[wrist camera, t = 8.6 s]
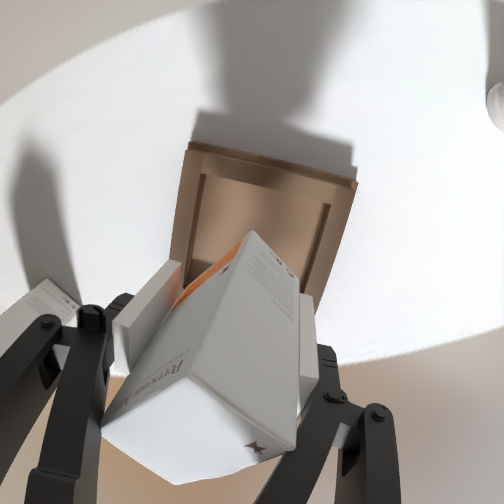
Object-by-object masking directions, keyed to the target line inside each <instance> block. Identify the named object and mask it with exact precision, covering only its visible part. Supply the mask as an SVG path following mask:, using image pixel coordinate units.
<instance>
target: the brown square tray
mask: <svg viewBox="0 0 504 504" xmlns="http://www.w3.org/2000/svg"><path fill="white" fill-rule="evenodd" d="M357 186H358V182H357V181H355V180H351V179H348V178H345V177H341V176H338V175H334V174H331V173H327V172H324V171H320V170H316V169H313V168H309V167H305V166H301V165H297V164H293V163H290V162H286V161H281V160H277V159H273V158H269V157H265V156H260V155H256V154H252V153H247V152H242V151H238V150H233V149H228V148H223V147H218V146H213V145H208V144H203V143H197V142H189V144H188V149H187V150H186V151H185V156H184V162H183V167H182V173H181V179H180V185H179V191H178V197H177V204H176V211H175V218H174V225H173V232H172V239H171V247H170V255H169V259H170V260H174V261H177V262H181V263H182V264H181V272H180V279H179V287H178V295H177V301H178V299H179V298H180V296H181V295H182V293H183V292H184V291H185V289H186V287H187V286H188V285H190V284H191V283H192V282H193V281H194V280H196V279H197V278H198V277H199V276H200V275H201V274H203V273H204V272H205V271H206V270H207V269H208V268H210V267H211V266H212V265H213V264H215V263H216V262H217V261H218V260H219V259H220V258H221V257H222V256H223V255H225V254H226V253H227V252H228V251H229V250H230V249H231V248H232V247H233V246H235V245H236V244H237V243H238V242H239V241H240V240H241V239H242V238H243V237H244V236H245V235H246V234H248V233H249V232H250V231H251V230H254V231H255V232H256V233H257V234H258V235H259V236H260V237H261V239H262V240H263V241H264V242H265V243H266V244H267V245H268V246H269V247H270V248H271V249H272V251H273V252H274V253H275V254H276V255H277V256H278V257H279V258H280V259H281V260H282V261H283V262H284V263H285V264H286V265H287V267H288V268H289V269H290V270H291V271H292V272H293V273H294V274H295V275H296V276H297V277H298V278H299V293H302V294H306V295H310V296H313V304H314V316H315V314H316V311H317V308H318V306H319V303H320V300H321V297H322V295H323V292H324V289H325V286H326V283H327V281H328V278H329V275H330V272H331V269H332V266H333V263H334V260H335V257H336V254H337V251H338V248H339V245H340V242H341V239H342V236H343V233H344V230H345V226H346V223H347V220H348V217H349V213H350V210H351V207H352V203H353V200H354V197H355V193H356V190H357Z"/></svg>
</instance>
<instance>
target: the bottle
mask: <svg viewBox="0 0 504 504" xmlns="http://www.w3.org/2000/svg"><path fill="white" fill-rule="evenodd" d="M487 110H488V114H489V117H490V118H491V120H492V122H493V124H494V125H495V126H496V127H497V128H498V129H499V130H501V131H502V132H504V82H500V83H497V84H495V85H494V86H493V87H492V88H491V89H490V90H489V92H488V95H487Z"/></svg>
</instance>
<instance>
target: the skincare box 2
mask: <svg viewBox="0 0 504 504" xmlns="http://www.w3.org/2000/svg"><path fill="white" fill-rule="evenodd" d="M298 374H299V278H298V277H297V276H296V275H295V274H294V273H293V272H292V271H291V270H290V269H289V268H288V267H287V265H286V264H285V263H284V262H283V261H282V260H281V259H280V258H279V257H278V256H277V255H276V254H275V253H274V252H273V251H272V249H271V248H270V247H269V246H268V245H267V244H266V243H265V242H264V241H263V240H262V239H261V237H260V236H259V235H258V234H257V233H256V232H255V231H254V230H251V231H250V232H249V233H248V234H246V235H245V236H244V237H243V238H242V239H241V240H240V241H239V242H238V243H237V244H236V245H235V246H233V247H232V248H231V249H230V250H229V251H228V252H227V253H226V254H225V255H223V256H222V257H221V258H220V259H219V260H218V261H217V262H216V263H215V264H213V265H212V266H211V267H210V268H208V269H207V270H206V271H205V272H204V273H203V274H201V275H200V276H199V277H198V278H197V279H196V280H194V281H193V282H192V283H191V284H190V285H188V286H187V287H186V289H185V291H184V292H183V293H182V295H181V296H180V298H179V299H178V301H177V302H176V303H175V305H174V306H173V308H172V309H171V311H170V312H169V314H168V315H167V317H166V318H165V320H164V321H163V323H162V324H161V326H160V327H159V329H158V330H157V332H156V333H155V335H154V336H153V338H152V339H151V341H150V342H149V344H148V345H147V347H146V348H145V350H144V352H143V353H142V355H141V356H140V358H139V359H138V361H137V362H136V364H135V366H134V367H133V369H132V370H131V372H130V373H129V375H128V376H127V378H126V380H125V381H124V383H123V385H122V386H121V388H120V389H119V391H118V392H117V394H116V395H115V397H114V399H113V400H112V402H111V404H110V405H109V407H108V408H107V410H106V412H105V413H104V415H103V418H102V421H101V425H100V429H101V436H103V437H104V438H105V439H106V440H108V441H109V442H110V443H112V444H113V445H114V446H116V447H117V448H119V449H120V450H121V451H123V452H124V453H126V454H127V455H129V456H130V457H131V458H133V459H134V460H136V461H137V462H139V463H140V464H142V465H143V466H145V467H146V468H148V469H150V470H151V471H153V472H154V473H156V474H157V475H159V476H161V477H162V478H164V479H165V480H167V481H169V482H170V483H172V484H174V485H180V484H184V483H188V482H193V481H197V480H201V479H209V478H218V477H222V476H225V475H229V474H233V473H235V472H237V471H239V470H241V469H243V468H245V467H249V466H251V465H255V464H258V463H260V462H263V461H266V460H269V459H272V458H274V457H277V456H280V455H283V454H285V453H286V451H293V450H294V449H295V447H296V433H297V406H298Z"/></svg>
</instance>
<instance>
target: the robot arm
mask: <svg viewBox="0 0 504 504" xmlns="http://www.w3.org/2000/svg"><path fill="white" fill-rule="evenodd" d="M181 264H182V263H181V262H177V261H174V260H170V259H169V260H168V261H167V262H166V263H165V264H164V265H163V266H162V267H161V268H160V269H159V271H158V272H157V273H156V274H155V275H154V276H153V277H152V278H151V279H150V280H149V281H148V282H147V283H146V285H145V286H144V287H143V288H142V289H141V290H140V291H139V292H138V293H137V294H136V295H135V296H134V295H131V294H128V293H124V294H122V295H119V296H117V297H116V298H115V299H114V300H113V301H112V303H110V304H109V305H108V307H106V308H105V309H103V308H102V307H100V306H98V305H92V304H88V305H83V306H81V307H79V308H78V309H77V310H76V319H77V327H70V326H63V325H62V323H61V319H60V318H59V317H58V316H56V315H53V314H43V315H40V316H39V317H37V318H36V319H35V320H34V321H33V322H32V323H31V324H30V325H29V326H28V327H27V328H26V330H25V331H24V332H23V333H22V334H21V335H20V336H19V337H18V338H17V339H16V340H15V341H14V343H13V344H12V345H11V346H10V347H9V348H8V349H7V350H6V352H5V353H4V354H3V355H2V356H1V357H0V485H1V483H2V481H3V479H4V477H5V475H6V473H7V472H8V470H9V468H10V466H11V464H12V462H13V460H14V458H15V457H16V455H17V453H18V451H19V449H20V448H21V446H22V444H23V442H24V440H25V439H26V437H27V435H28V434H29V432H30V430H31V429H32V427H33V425H34V423H35V422H36V420H37V418H38V417H39V415H40V413H41V412H42V410H43V408H44V407H45V405H46V404H47V402H48V400H49V399H50V397H51V396H52V394H53V392H54V391H55V389H56V388H57V390H56V393H55V397H54V400H53V404H52V408H51V411H50V415H49V419H48V423H47V427H46V431H45V435H44V439H43V444H42V449H41V453H40V459H39V463H38V466H37V468H34V469H32V470H31V471H30V474H29V477H28V483H27V488H26V494H25V501H24V504H96V498H97V479H98V464H99V454H100V443H101V429H100V425H101V421H102V418H103V415H104V410H105V403H106V396H107V390H108V383H109V378H110V369H109V368H110V366H111V365H112V363H113V362H114V368H115V370H116V371H118V372H121V373H124V374H126V375H129V373H130V372H131V370H132V369H133V367H134V366H135V364H136V362H137V361H138V359H139V358H140V356H141V355H142V353H143V352H144V350H145V348H146V347H147V345H148V344H149V342H150V341H151V339H152V338H153V336H154V335H155V333H156V332H157V330H158V329H159V327H160V326H161V324H162V323H163V321H164V320H165V318H166V317H167V315H168V314H169V312H170V311H171V309H172V308H173V306H174V305H175V303H176V302H177V295H178V287H179V279H180V272H181ZM337 368H338V366H337V359H336V353H335V352H334V350H333V349H332V347H331V346H326V345H321V344H317V341H316V328H315V316H314V304H313V296H310V295H306V294H302V293H299V374H298V406H297V420H298V419H299V417H300V415H301V423H300V424H299V426H298V428H297V433H296V447H295V449H294V450H293V451H286V453H285V454H283V455H282V457H281V459H280V460H279V462H278V464H277V466H276V467H275V469H274V471H273V472H272V474H271V476H270V477H269V479H268V481H267V482H266V484H265V485H264V487H263V489H262V490H261V492H260V494H259V495H258V497H257V498H256V500H255V501H254V503H253V504H306V503H307V501H308V499H309V497H310V495H311V493H312V490H313V488H314V486H315V484H316V482H317V479H318V477H319V475H320V473H321V470H322V468H323V466H324V463H325V461H326V458H327V456H328V454H329V451H330V449H331V446H334V447H337V448H338V465H337V479H336V491H335V502H334V504H401V491H400V476H399V465H398V454H397V445H396V436H395V428H394V420H393V416H392V413H391V411H390V410H389V409H388V408H387V407H385V406H383V405H381V404H378V403H372V404H369V405H367V406H366V408H362V407H360V406H357V405H355V404H353V403H350V402H349V401H348V398H347V396H346V393H345V392H343V390H341V388H340V381H339V373H338V369H337Z"/></svg>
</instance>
